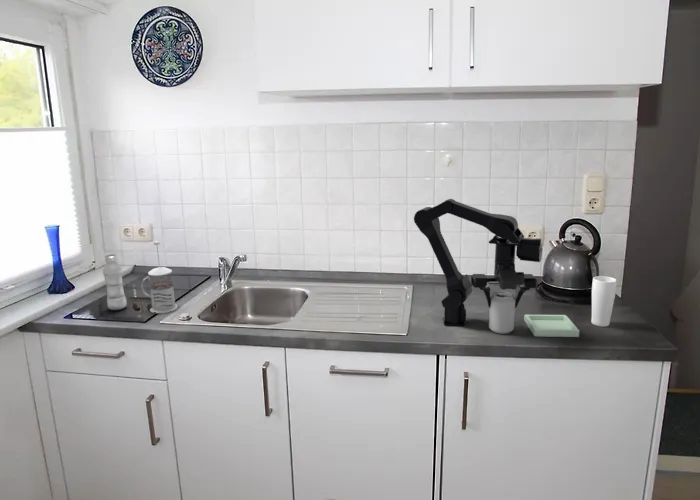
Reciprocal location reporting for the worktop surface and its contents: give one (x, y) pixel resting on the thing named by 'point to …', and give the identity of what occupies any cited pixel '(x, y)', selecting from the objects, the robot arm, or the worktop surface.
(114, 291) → the plastic bottle
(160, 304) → the french press
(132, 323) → the worktop surface
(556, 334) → the tray
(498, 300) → the can
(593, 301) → the drinking glass
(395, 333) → the worktop surface
